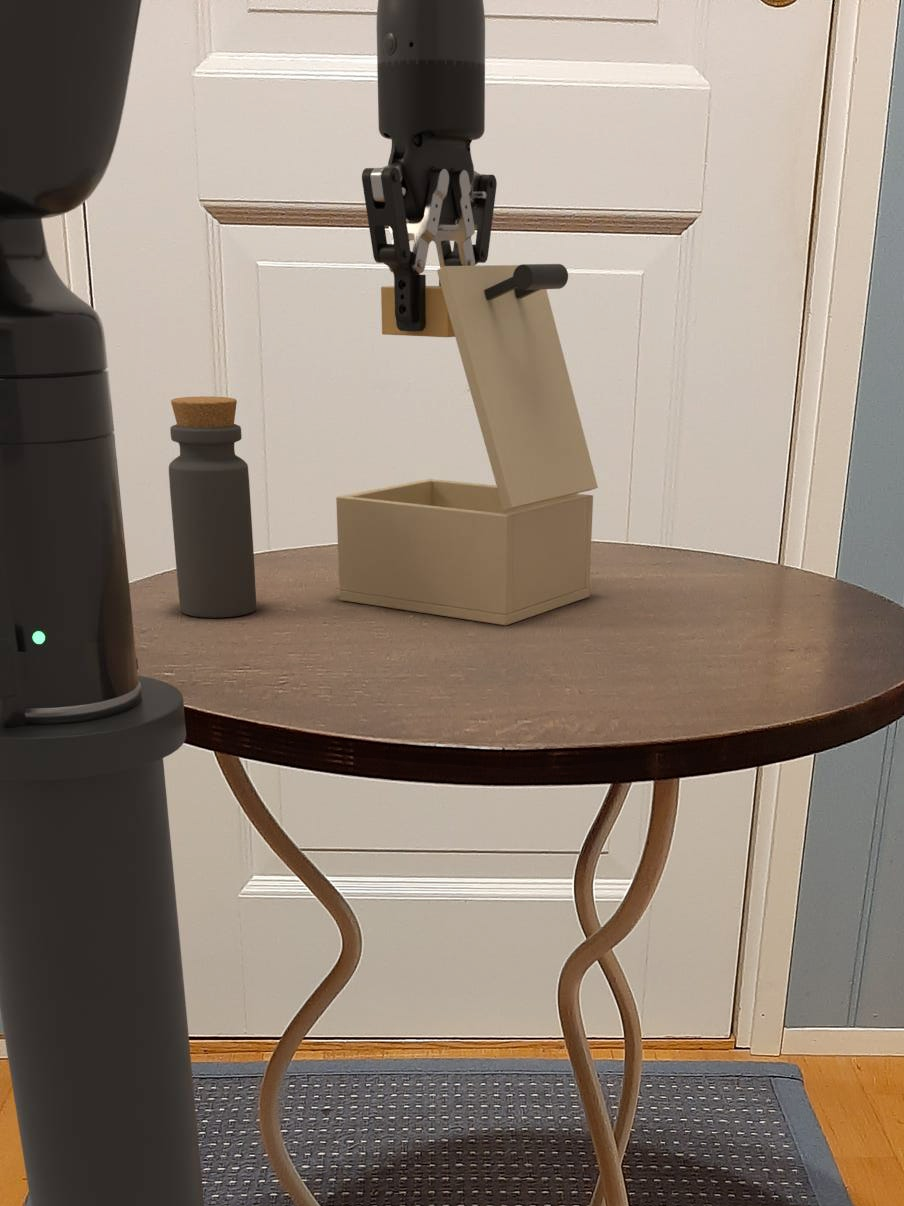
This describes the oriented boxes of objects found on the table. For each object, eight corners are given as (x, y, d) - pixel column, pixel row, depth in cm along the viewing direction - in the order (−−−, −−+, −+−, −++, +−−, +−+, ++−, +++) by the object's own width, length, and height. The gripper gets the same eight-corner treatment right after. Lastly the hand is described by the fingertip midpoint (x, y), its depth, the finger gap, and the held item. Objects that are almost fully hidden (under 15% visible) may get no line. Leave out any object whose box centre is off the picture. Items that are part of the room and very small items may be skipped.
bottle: (271, 607, 118) (260, 398, 111) (227, 621, 113) (212, 404, 106) (210, 599, 120) (195, 394, 113) (164, 613, 115) (145, 400, 108)
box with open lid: (339, 600, 120) (335, 496, 116) (430, 575, 129) (429, 478, 126) (505, 625, 113) (507, 516, 109) (589, 597, 122) (593, 495, 118)
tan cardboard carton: (381, 334, 113) (380, 286, 112) (420, 331, 117) (419, 285, 115) (447, 337, 110) (447, 288, 109) (485, 334, 114) (485, 287, 112)
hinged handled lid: (436, 270, 105) (493, 242, 101) (531, 268, 114) (586, 242, 111) (503, 511, 109) (560, 491, 106) (589, 490, 118) (644, 471, 115)
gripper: (415, 46, 98) (418, 335, 106) (530, 66, 109) (526, 327, 117) (324, 52, 102) (334, 331, 110) (444, 71, 112) (445, 324, 120)
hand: (433, 328), depth 113 cm, fingers closed on tan cardboard carton, 5 cm apart
